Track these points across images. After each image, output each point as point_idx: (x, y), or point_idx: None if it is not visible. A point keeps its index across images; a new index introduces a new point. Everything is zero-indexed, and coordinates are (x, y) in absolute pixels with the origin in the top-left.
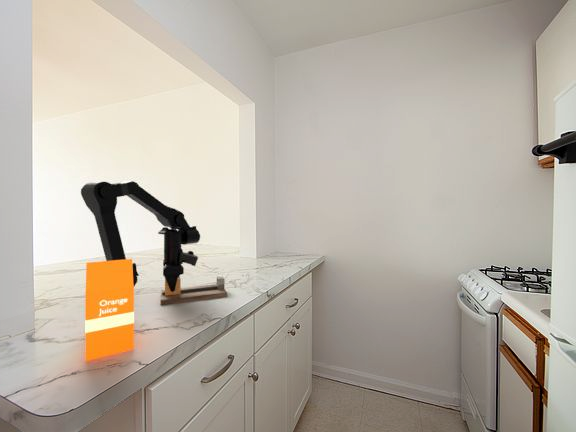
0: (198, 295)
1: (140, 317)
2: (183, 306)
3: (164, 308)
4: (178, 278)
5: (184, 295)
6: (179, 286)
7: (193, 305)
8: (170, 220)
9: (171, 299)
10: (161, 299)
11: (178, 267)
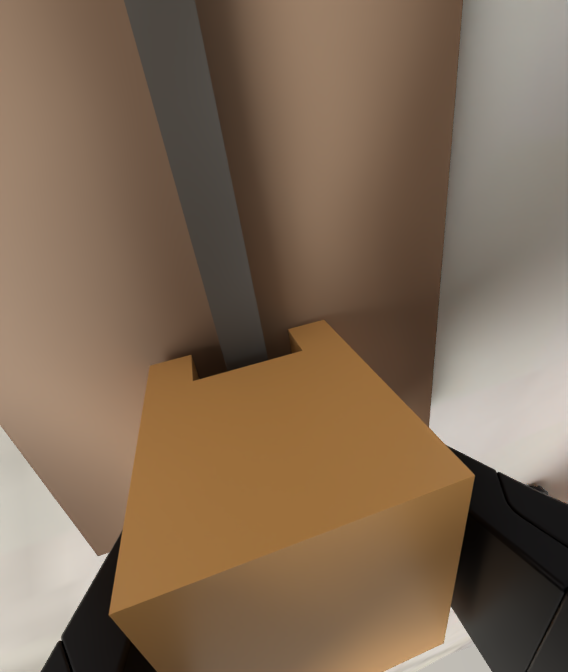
0: (446, 27)
1: (545, 439)
2: (521, 228)
3: (485, 367)
4: (378, 542)
5: (368, 259)
6: (376, 385)
7: (550, 123)
8: None
9: (432, 366)
10: None
11: None
